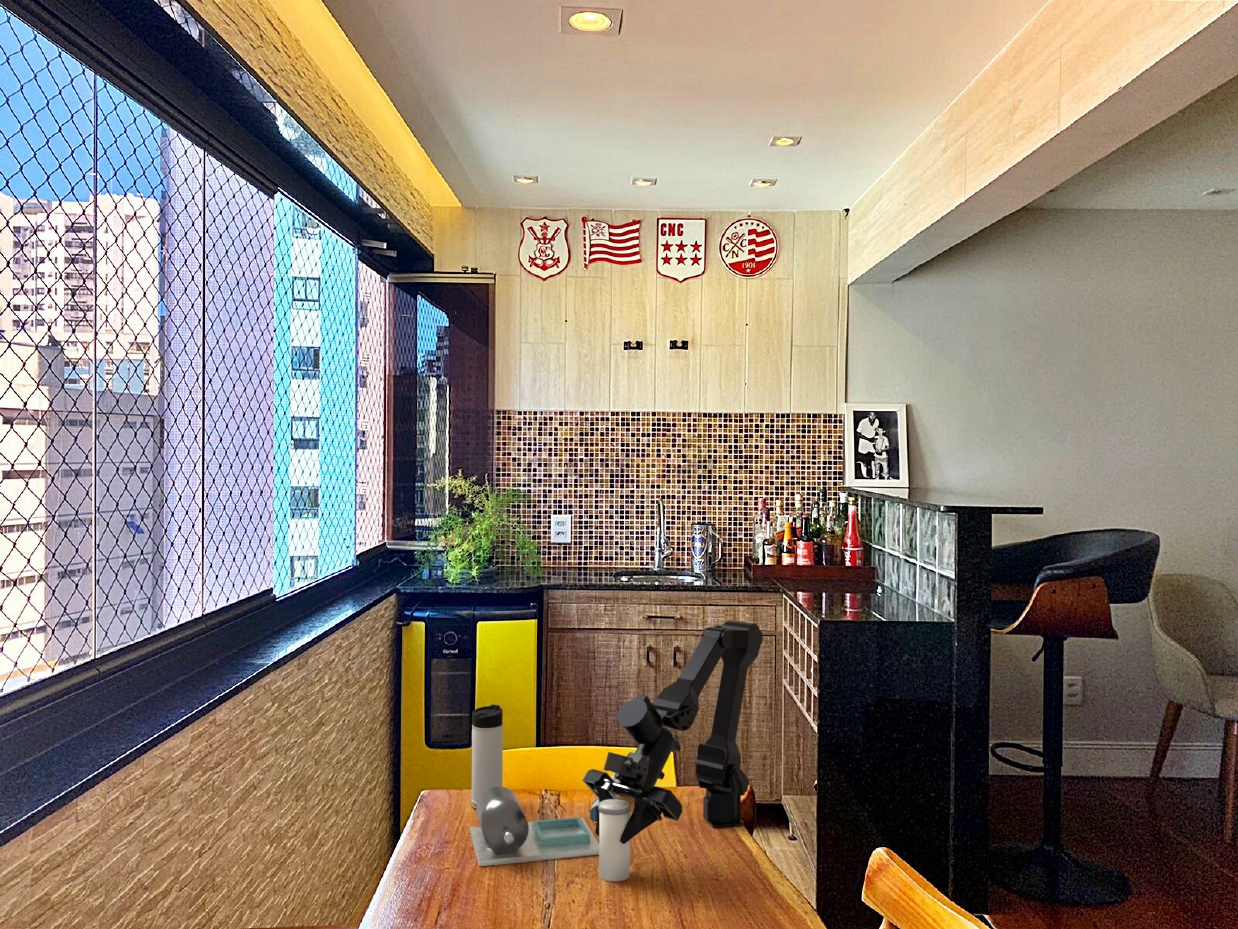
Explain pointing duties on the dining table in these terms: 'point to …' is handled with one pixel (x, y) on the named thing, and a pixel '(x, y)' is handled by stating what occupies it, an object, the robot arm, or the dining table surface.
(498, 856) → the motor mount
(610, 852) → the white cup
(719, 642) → the robot arm
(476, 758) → the travel mug
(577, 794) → the dining table surface
